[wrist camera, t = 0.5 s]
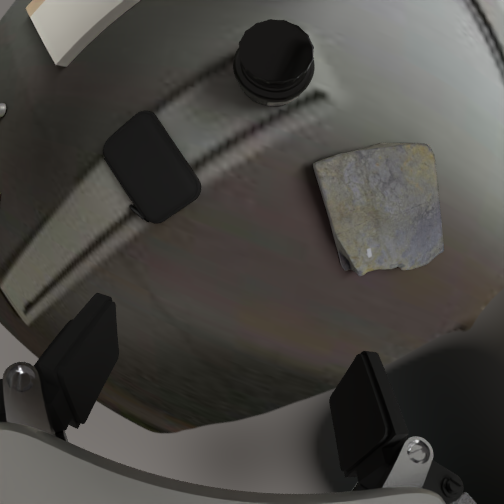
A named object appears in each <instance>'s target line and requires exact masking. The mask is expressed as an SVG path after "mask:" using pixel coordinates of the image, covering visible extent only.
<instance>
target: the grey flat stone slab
mask: <svg viewBox="0 0 504 504" xmlns="http://www.w3.org/2000/svg"><path fill="white" fill-rule="evenodd" d="M313 168H314V172H315V175H316V178H317V181H318V184H319V188H320V191H321V194H322V198H323V201H324V204H325V208H326V211H327V214H328V218H329V221H330V225H331V229H332V232H333V236H334V240H335V243H336V247H337V250H338V255H339V258H340V262H341V266H342V268H343V269H344V270H345V271H348V270H353V271H354V272H356V273H357V275H359V276H362V275H364V274H365V273H367V272H369V271H372V270H377V269H383V270H386V269H393V268H396V267H399V268H401V269H402V270H406V269H407V270H410V269H414V268H418V267H421V266H423V265H426V264H428V263H429V262H430V261H432V260H433V258H435V257H436V256H437V255H438V254H440V253H442V252H443V251H444V245H443V234H442V221H441V212H440V202H439V190H438V180H437V172H436V163H435V157H434V154H433V152H432V149H431V147H430V145H429V144H421V143H385V142H384V143H379V144H377V145H372V146H370V147H367V148H364V149H359V150H354V151H350V152H346V153H341V154H338V155H335V156H331V157H328V158H325V159H323V160H320V161H317V162H314V163H313Z"/></svg>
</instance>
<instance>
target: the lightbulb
mask: <svg viewBox="0 0 504 504" xmlns="http://www.w3.org/2000/svg"><path fill="white" fill-rule="evenodd" d="M5 112H6V105H5V103H0V117H2V116H3V115H4V114H5Z"/></svg>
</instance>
